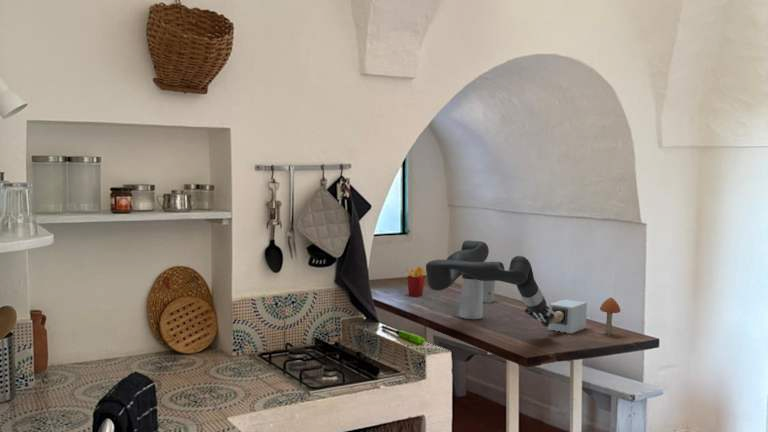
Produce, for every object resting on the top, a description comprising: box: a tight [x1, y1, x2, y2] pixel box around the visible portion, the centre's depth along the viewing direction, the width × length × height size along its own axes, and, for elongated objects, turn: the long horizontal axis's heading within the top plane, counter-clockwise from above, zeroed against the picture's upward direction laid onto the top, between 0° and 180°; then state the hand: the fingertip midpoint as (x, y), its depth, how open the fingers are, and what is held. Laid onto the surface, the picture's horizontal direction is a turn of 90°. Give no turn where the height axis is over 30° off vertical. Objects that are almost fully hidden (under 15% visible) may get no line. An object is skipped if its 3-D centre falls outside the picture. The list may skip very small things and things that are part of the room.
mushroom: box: [599, 297, 621, 336], centre depth 302 cm, size 8×8×15 cm
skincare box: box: [483, 281, 496, 304], centre depth 366 cm, size 8×7×16 cm
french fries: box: [406, 265, 427, 298], centre depth 377 cm, size 9×8×15 cm
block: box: [547, 299, 588, 334], centre depth 311 cm, size 15×10×10 cm
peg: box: [547, 310, 565, 324], centre depth 303 cm, size 12×4×4 cm, turn 141°
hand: (546, 324), depth 296 cm, fingers closed
